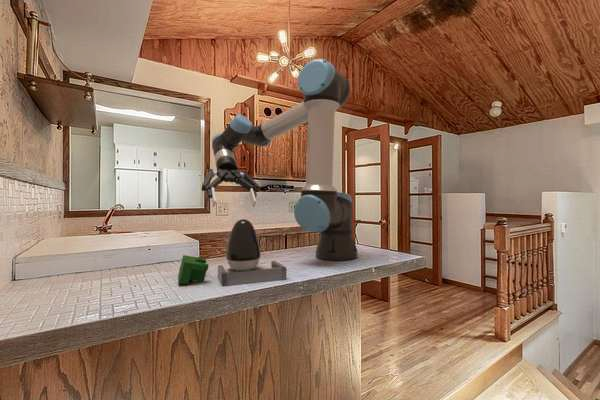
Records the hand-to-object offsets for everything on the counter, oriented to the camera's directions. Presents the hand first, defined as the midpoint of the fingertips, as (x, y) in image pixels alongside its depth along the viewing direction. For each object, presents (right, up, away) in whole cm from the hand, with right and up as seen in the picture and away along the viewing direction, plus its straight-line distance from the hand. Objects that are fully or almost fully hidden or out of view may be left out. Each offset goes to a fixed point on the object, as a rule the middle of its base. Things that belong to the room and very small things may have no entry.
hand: (235, 204), depth 101 cm
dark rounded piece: (+5, -20, -11) cm, 23 cm away
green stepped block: (-6, -20, -23) cm, 31 cm away
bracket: (+9, -20, -21) cm, 30 cm away
